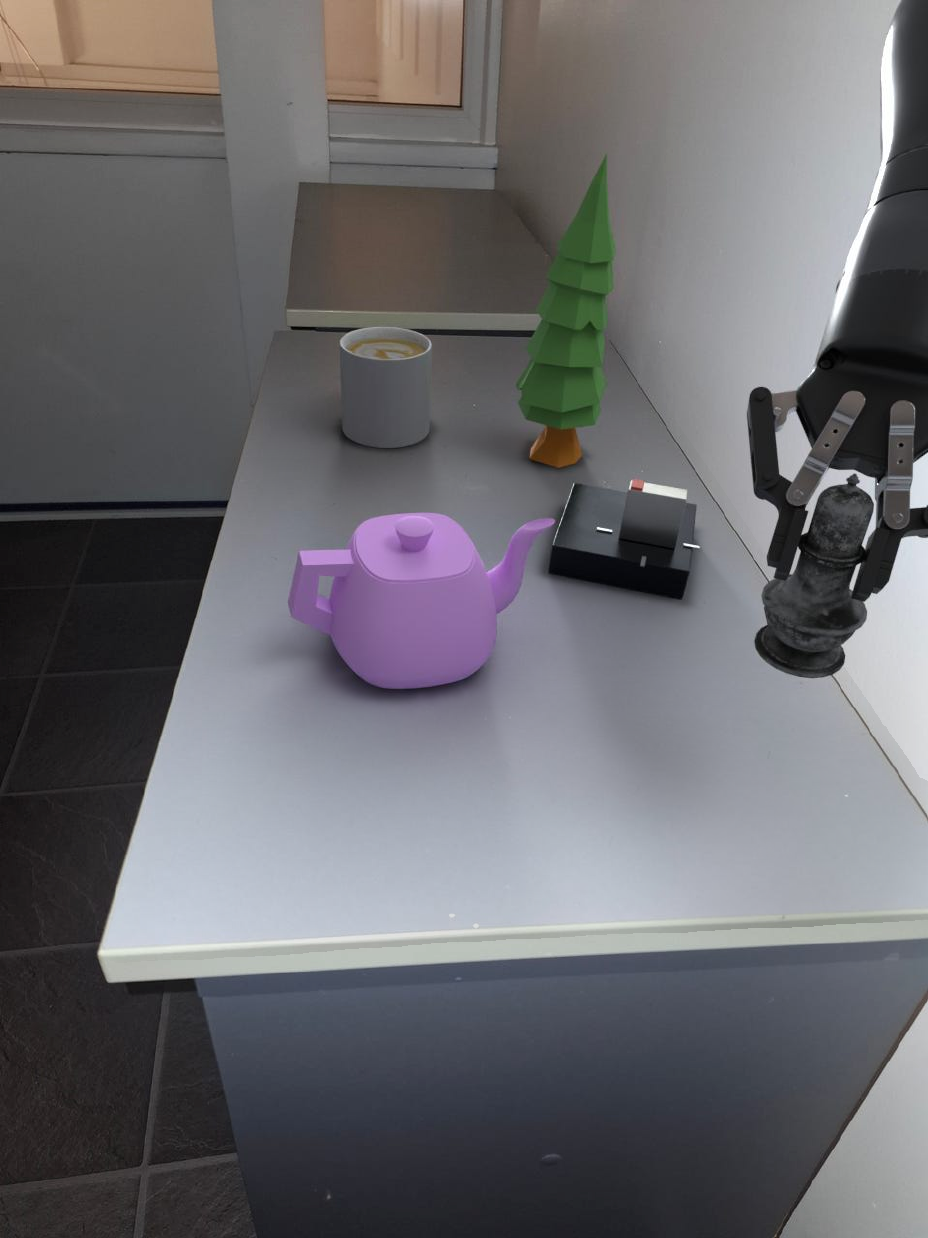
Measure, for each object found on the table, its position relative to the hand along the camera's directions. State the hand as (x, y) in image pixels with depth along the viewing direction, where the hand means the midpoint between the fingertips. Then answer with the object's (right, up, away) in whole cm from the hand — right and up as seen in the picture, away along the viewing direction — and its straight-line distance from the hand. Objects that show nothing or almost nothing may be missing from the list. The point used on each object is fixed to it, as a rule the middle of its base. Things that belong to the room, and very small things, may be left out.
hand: (821, 585), depth 47 cm
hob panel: (-5, +5, +33) cm, 34 cm away
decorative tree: (-10, +16, +48) cm, 52 cm away
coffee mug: (-29, +21, +53) cm, 64 cm away
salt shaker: (+1, -4, +5) cm, 7 cm away
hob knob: (-3, +5, +30) cm, 30 cm away
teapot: (-23, -4, +21) cm, 32 cm away
